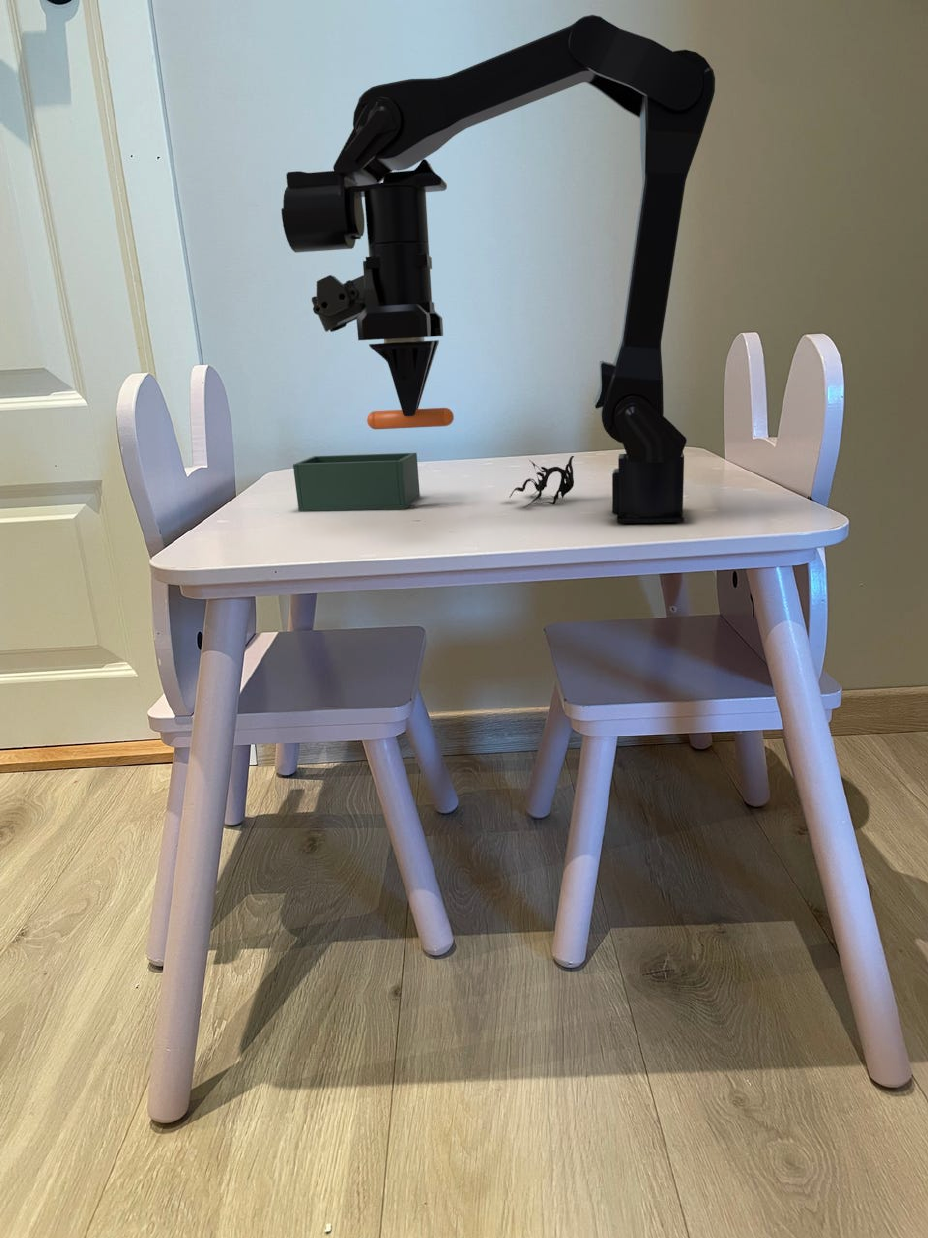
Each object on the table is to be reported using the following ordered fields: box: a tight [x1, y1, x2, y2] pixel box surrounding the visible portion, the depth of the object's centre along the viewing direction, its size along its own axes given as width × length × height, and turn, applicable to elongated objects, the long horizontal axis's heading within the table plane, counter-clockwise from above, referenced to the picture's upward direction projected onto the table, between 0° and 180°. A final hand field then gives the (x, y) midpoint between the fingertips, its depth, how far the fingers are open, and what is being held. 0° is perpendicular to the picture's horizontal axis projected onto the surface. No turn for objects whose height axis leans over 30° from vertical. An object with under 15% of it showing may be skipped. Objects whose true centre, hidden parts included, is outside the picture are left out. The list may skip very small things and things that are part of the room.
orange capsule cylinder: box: [366, 407, 455, 430], centre depth 83 cm, size 9×2×2 cm, turn 87°
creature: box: [508, 455, 575, 509], centre depth 94 cm, size 8×5×8 cm
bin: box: [292, 452, 421, 512], centre depth 99 cm, size 13×7×6 cm, turn 79°
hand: (410, 414), depth 83 cm, fingers closed on orange capsule cylinder, 1 cm apart
